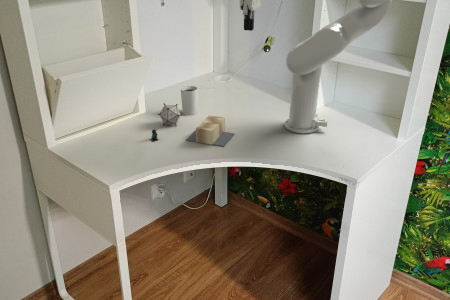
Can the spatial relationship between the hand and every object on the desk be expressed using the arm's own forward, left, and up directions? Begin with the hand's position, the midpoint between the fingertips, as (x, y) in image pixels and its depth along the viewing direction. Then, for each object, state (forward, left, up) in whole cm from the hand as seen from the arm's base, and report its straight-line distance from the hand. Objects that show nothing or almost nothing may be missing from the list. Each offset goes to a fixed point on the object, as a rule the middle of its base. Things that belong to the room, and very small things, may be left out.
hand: (248, 29), depth 154 cm
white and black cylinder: (+22, +4, -33) cm, 40 cm away
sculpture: (+24, +31, -34) cm, 52 cm away
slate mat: (+6, +22, -33) cm, 40 cm away
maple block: (+6, +16, -30) cm, 35 cm away
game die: (+24, +17, -33) cm, 44 cm away
